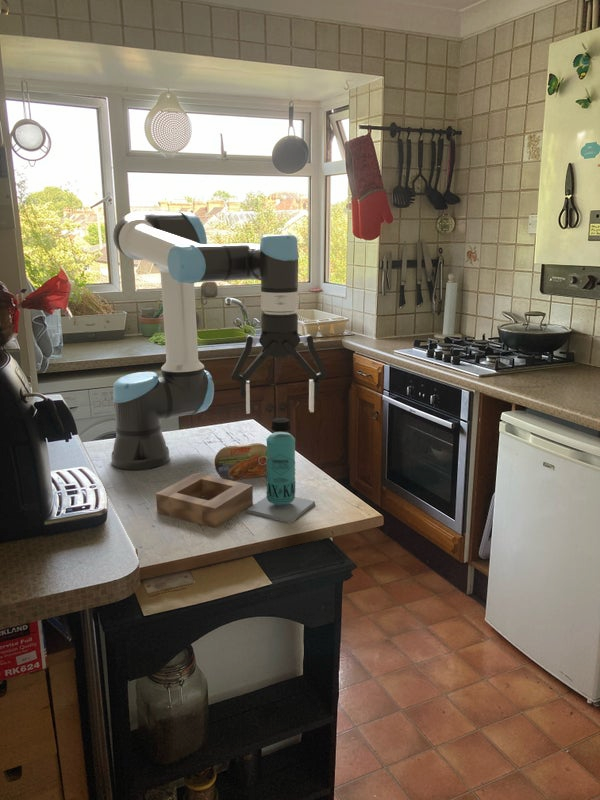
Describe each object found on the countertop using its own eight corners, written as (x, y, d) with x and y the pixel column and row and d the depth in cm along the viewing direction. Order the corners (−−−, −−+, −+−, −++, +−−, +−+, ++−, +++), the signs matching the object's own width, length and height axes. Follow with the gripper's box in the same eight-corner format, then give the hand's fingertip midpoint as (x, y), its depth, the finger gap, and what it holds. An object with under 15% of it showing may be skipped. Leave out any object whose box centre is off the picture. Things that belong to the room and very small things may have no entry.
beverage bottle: (263, 501, 143) (261, 416, 138) (291, 497, 145) (290, 413, 140) (270, 513, 137) (269, 424, 132) (299, 509, 139) (299, 422, 134)
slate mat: (247, 512, 139) (247, 509, 139) (273, 494, 149) (273, 491, 148) (290, 523, 134) (290, 520, 134) (314, 504, 143) (314, 501, 143)
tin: (215, 481, 157) (214, 449, 154) (214, 477, 159) (212, 445, 157) (275, 475, 160) (274, 444, 158) (272, 471, 163) (271, 440, 161)
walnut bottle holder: (157, 512, 140) (155, 493, 138) (196, 490, 151) (195, 472, 150) (216, 528, 132) (215, 508, 131) (252, 503, 144) (252, 485, 143)
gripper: (217, 315, 125) (220, 417, 131) (342, 314, 128) (340, 414, 133) (218, 310, 132) (221, 407, 138) (336, 309, 135) (334, 404, 141)
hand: (279, 411), depth 136 cm, fingers open, 13 cm apart
